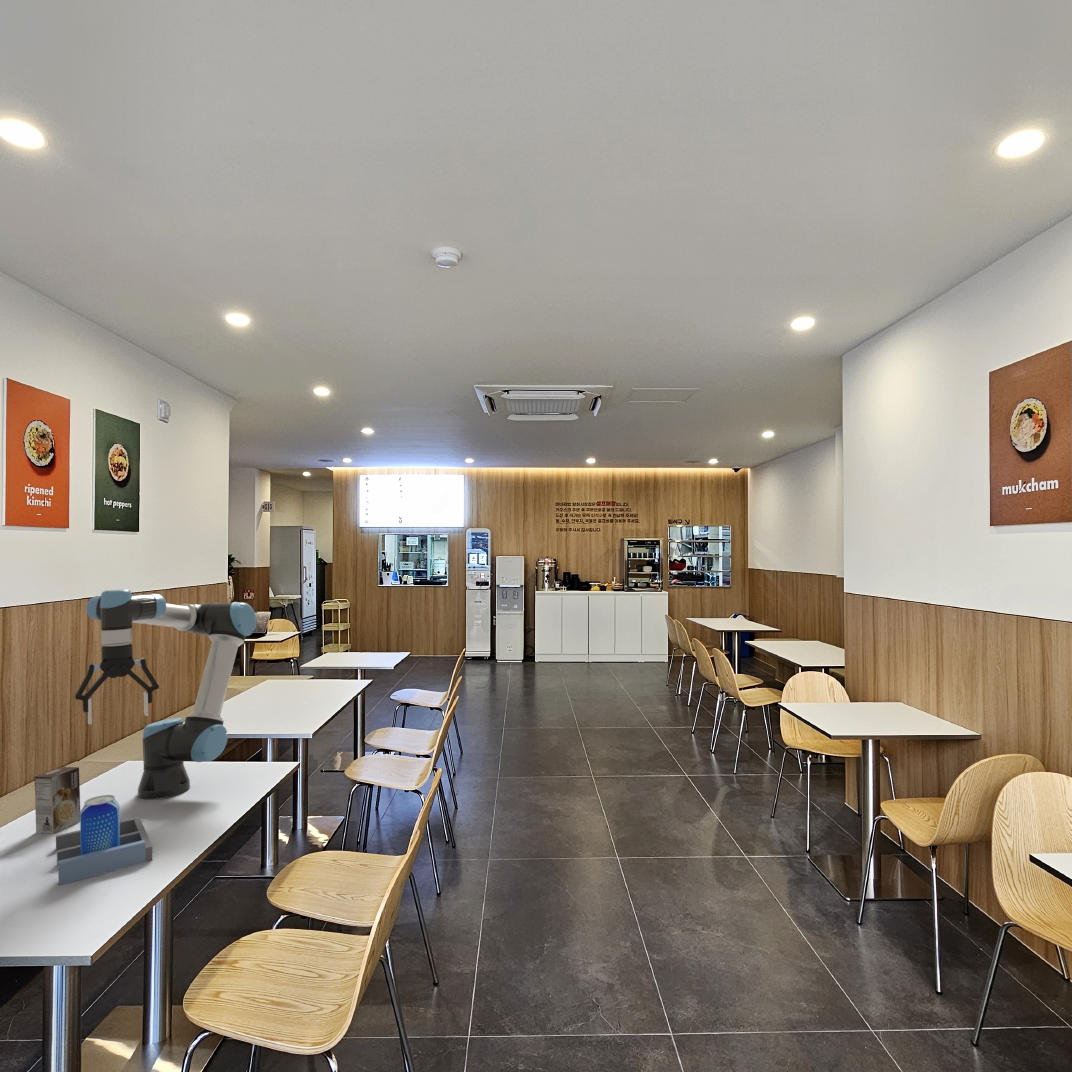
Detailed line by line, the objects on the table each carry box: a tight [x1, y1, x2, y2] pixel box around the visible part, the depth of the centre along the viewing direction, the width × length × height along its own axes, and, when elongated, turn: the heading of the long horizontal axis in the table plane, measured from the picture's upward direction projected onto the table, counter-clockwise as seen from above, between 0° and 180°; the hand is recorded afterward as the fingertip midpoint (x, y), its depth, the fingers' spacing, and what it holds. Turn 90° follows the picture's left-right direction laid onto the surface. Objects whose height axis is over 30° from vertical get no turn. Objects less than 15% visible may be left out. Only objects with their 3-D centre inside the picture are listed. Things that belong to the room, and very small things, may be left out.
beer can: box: [79, 794, 121, 855], centre depth 172 cm, size 8×8×16 cm
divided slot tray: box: [55, 816, 153, 886], centre depth 177 cm, size 20×26×5 cm
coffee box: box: [34, 766, 81, 834], centre depth 197 cm, size 9×6×16 cm
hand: (118, 719), depth 192 cm, fingers open, 13 cm apart
